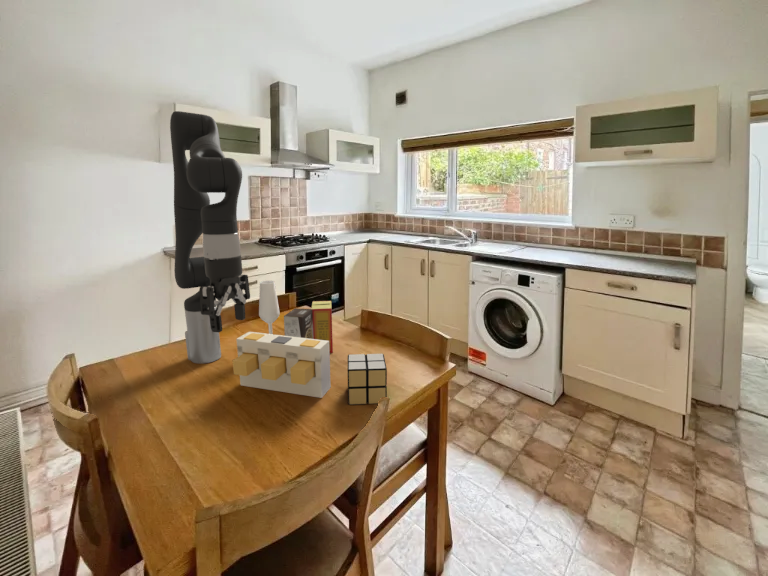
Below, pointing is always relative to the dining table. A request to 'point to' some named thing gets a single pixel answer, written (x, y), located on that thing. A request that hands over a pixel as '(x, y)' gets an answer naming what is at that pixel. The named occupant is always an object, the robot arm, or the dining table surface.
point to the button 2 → (273, 368)
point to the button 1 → (245, 364)
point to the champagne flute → (268, 303)
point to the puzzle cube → (366, 378)
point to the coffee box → (299, 323)
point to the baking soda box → (322, 321)
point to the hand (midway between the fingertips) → (229, 325)
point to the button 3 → (302, 372)
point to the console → (287, 362)
